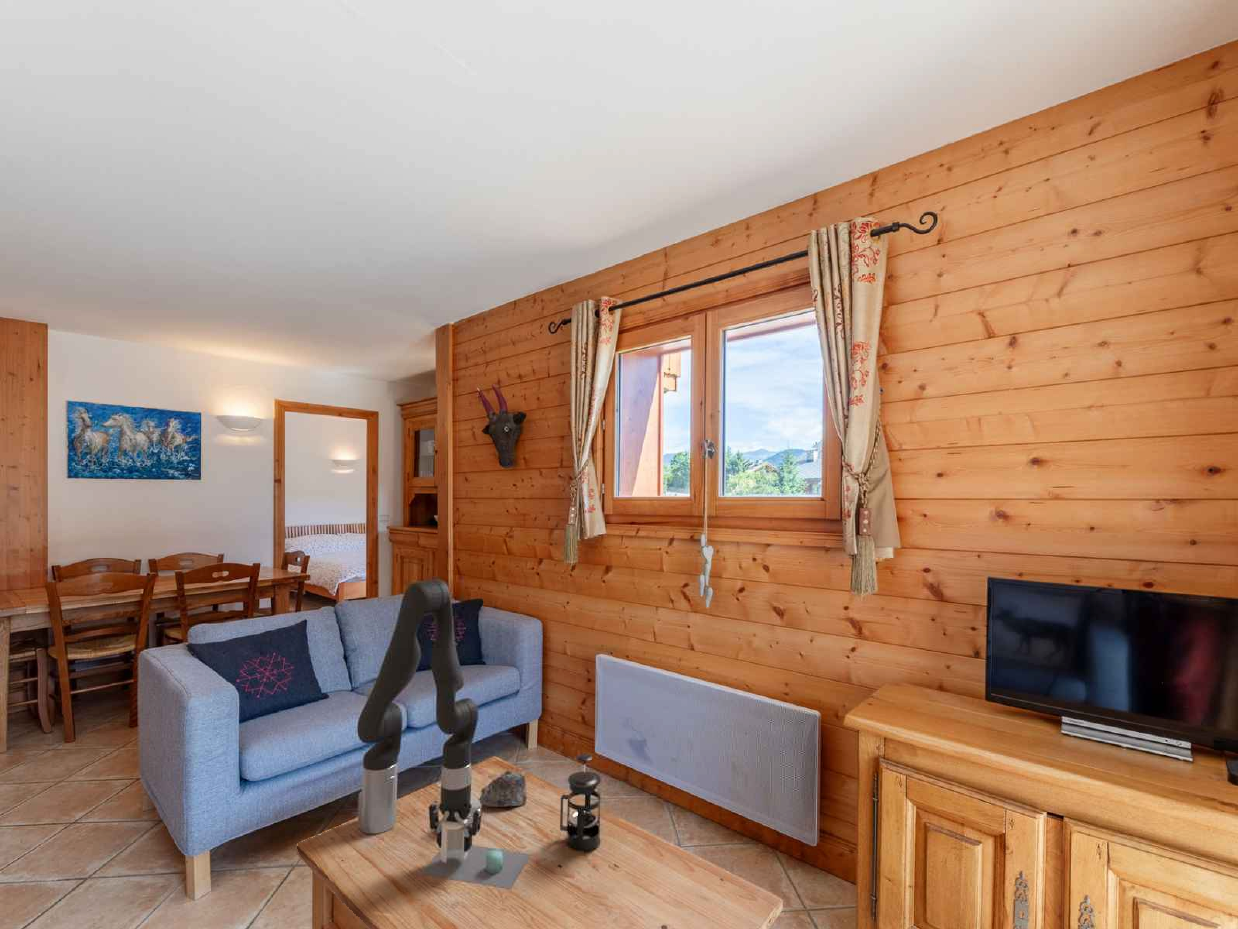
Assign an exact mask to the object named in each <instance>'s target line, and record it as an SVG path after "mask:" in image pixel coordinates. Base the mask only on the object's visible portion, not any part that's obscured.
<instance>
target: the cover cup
mask: <svg viewBox="0 0 1238 929" xmlns="http://www.w3.org/2000/svg"><path fill="white" fill-rule="evenodd" d="M467 821H468V819H467V818H465V820H464V823H466V822H467ZM461 828H462V824H461V825H460V824H459V823H457V822H450V821H446V822H442V838H441V848H440V850H441V860H442V861H443V862H444V863H446V862H447V852H448V851H450V850H455V849H458V850H462V851H463V853H462V859H463V860H464V859H465V858H466V857H467V852H465V851H464V837H465V834H464V832H463V830H462V829H461ZM467 828H468V825H467Z"/></svg>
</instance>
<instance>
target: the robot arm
mask: <svg viewBox="0 0 1238 929" xmlns="http://www.w3.org/2000/svg"><path fill="white" fill-rule="evenodd" d="M448 586H449V585H448V584H447V583H446V582H445V580H443V579H440V578H433V579H426V580H422V581H415V582H412V583H411V584H409V585H408V586H407V587H406V589H405V591H404V593H403V595H402V598H401V603H400V607H399V611H398V615H397V618H396V623H395V627H394V630H393V632H392V633H393V634H392V636H391V639H390V643H389V645H388V647H387V650H386V652H385V655H384V657H383V661H382V663H381V666H380V670H379V673H378V675H377V677H376V680H375V682H374V685H373V687H372V690H371V692H370V694H369V696H368V699H367V701H366V702H365V704H364V706H363V709H361V710H362V711H361V712H360V714H359V717H358V721H357V730H356V731H357V735H358V736H357V737H358V738H359V740H360V742H362V743H363V744H367V745H370V744H374V745H373V746H372V747H370V748H369V749H368V750H367V751H366V752H365V753H364V754H363V759H362V782H361V783H362V785H361V791H360V792H359V794H358V807H357V809H358V810H357V811H358V812H357V829H360V830H361V831H362V832H363V833H365V834H371V835H375V834H381V833H385V832H388V831H389V830H391V829H392V828H394V826H395V825H396V823H397V821H396V820H397V796H398V794H397V793H398V766H399V763H398V762H399V761H398V760H399V754H400V752H401V749H402V748H401V747H402V745H401V744H402V736H403V734H402V733H403V714H402V709H400V706H399V705H398V704H397V703H395V702H393V701H394V700H395V699H396V698H397V697H398V696H399V695H400V694H401V693H402V691H404V690H405V689H406V688H407V686H408V685H409V684H410V683H411V681H412V680H413V677H414V676H415V675H416V672H417V669H418V666H419V663H420V661H421V658H422V651H421V646H420V643H419V640H418V637H417V631H418V628H419V625H420V623H421V621H422V619H423V618H424V617H427V616H431V615H432V616H433V617H434V621H435V638H434V643H433V647H432V651H431V657H430V666H431V667H430V668H431V671H432V678H433V680H434V685H435V688H436V695H435V696H436V697H435V699H436V702H435V706H436V707H435V719H436V723H437V726H438V728H439V730H440V731H441V733H443V734H445V735H451V736H450V737H448V739H447V740H446V741H445V742H444V743H443V745H442V766H441V774H440V802H438V801H437V800H434V801H433V802H432V803H431V804H430V805H429V806H428V816H429V817H428V818H429V828H430V830H434V831H435V832H436V843H437V844H436V845H438V848H440V849H441V838H442V822H446V821H450V822H457V823H459V824H460V825H461V824H462V828H461V829H462V830H463V832H464V834H465V837H464V851H465V852H467V851H468V850H469V849H470V847H471V846H472V845H473V836H474V837H475V836H476V835H477V833H478V832H479V831H480V829H481V824H482V814H483V807H482V808H481V807H479V808H478V809H477V808H473V807H472V806H471V803H470V799H471V794H472V778H473V777H472V776H473V775H472V763H471V761H472V760H471V758H472V755H471V754H472V743H473V740H474V738H475V733H476V729H477V724H478V720H479V710H478V707H477V704H476V703H475V701H474V700H473V699H471V698H468V697H467V698H466V697H465V698H461V699H460V700H456V695H457V693H458V692H459V691H460V690H462V689H463V687H464V686H465V682H464V677H463V676H464V675H463V673H462V669H461V668H462V667H461V665H460V661H459V657H458V656H459V655H458V652H457V647H456V646H457V645H456V637H455V626H454V624H455V623H454V616H453V614H454V613H453V605H452V603H453V602H452V596H451V592H450V589H449V587H448ZM439 811H440V813H441V814H442V817H441V819H440V817H439V816H440V815H439ZM469 813H471V814H472V818H473V823H471V819H470V817H469ZM465 818H467V819H468V821H467V822H466V823H464V820H465ZM467 825H468V828H467Z"/></svg>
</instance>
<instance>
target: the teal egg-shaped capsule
mask: <svg viewBox="0 0 1238 929" xmlns="http://www.w3.org/2000/svg"><path fill="white" fill-rule="evenodd" d="M502 858H503V853H502V852H501V851H499V850H492V851H490V852H488V853H487V855H486V872H487V873H489V874H497V873H499V872H501V870H502Z"/></svg>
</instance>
